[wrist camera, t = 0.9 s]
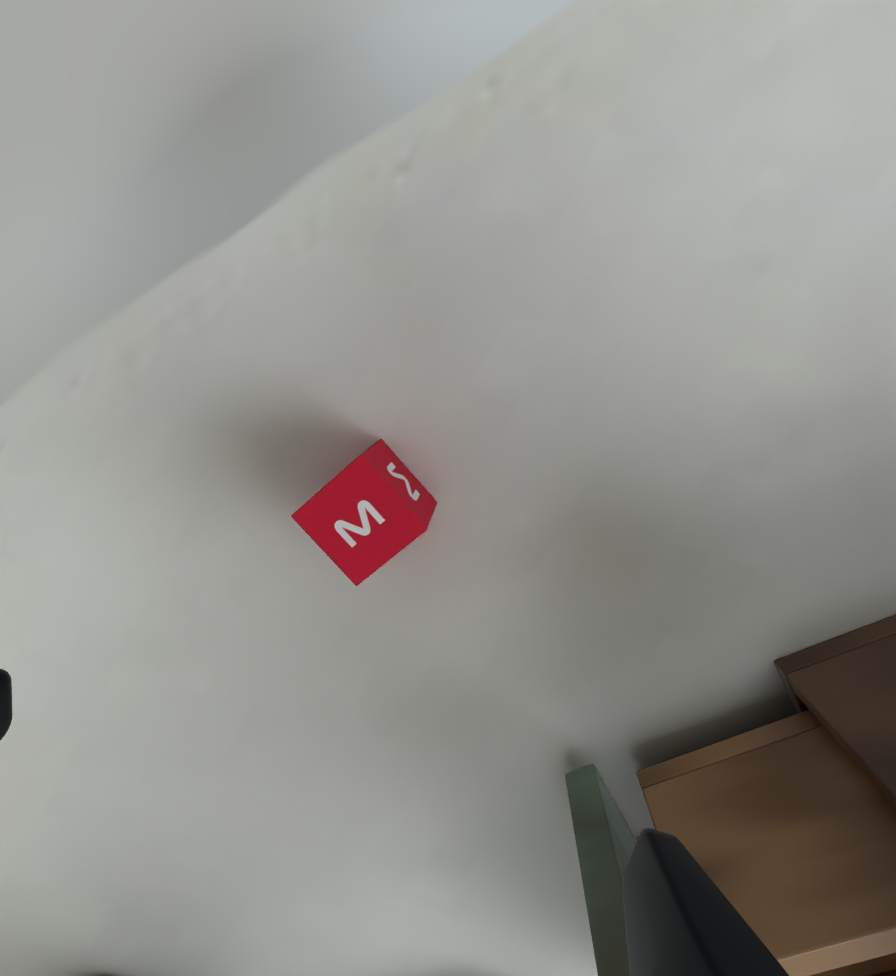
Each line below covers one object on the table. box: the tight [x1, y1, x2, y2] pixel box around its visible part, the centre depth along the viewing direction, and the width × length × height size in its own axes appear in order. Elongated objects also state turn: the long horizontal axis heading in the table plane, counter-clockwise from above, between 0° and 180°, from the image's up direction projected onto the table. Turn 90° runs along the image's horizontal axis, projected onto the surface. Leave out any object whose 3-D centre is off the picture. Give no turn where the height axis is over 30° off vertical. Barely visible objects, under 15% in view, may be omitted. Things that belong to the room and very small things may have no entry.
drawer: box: [565, 710, 896, 976], centre depth 17 cm, size 15×13×7 cm
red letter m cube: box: [291, 439, 437, 586], centre depth 18 cm, size 3×3×3 cm
